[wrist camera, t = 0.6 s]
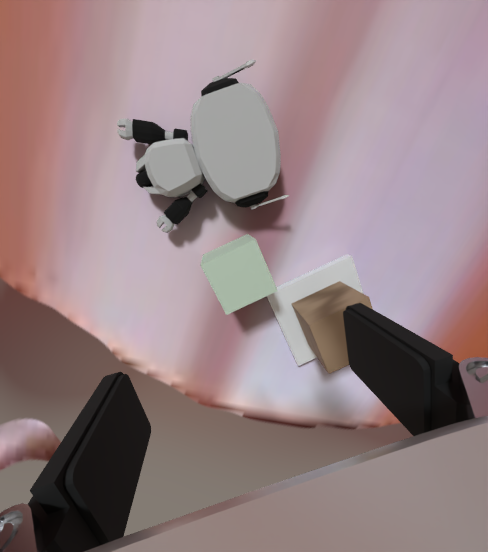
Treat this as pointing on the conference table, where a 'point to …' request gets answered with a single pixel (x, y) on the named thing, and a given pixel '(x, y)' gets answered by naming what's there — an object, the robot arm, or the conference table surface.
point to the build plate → (302, 288)
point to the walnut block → (328, 322)
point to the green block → (238, 273)
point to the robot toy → (211, 150)
